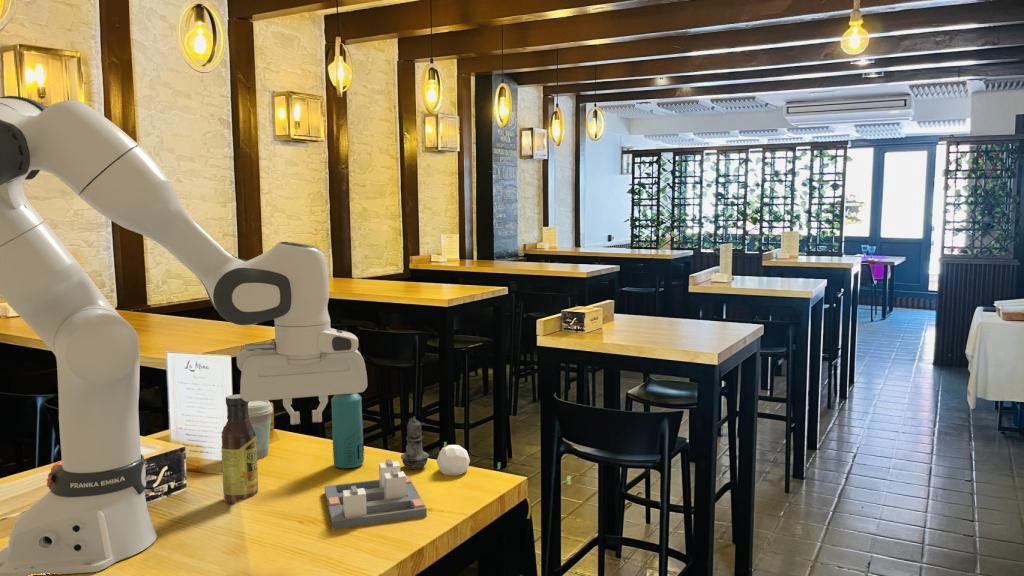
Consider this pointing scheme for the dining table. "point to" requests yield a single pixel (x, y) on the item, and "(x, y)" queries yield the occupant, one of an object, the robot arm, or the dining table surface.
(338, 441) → the beverage bottle
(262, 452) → the coffee cup
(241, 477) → the sauce bottle
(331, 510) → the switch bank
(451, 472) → the ornament
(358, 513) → the tab
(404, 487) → the tab
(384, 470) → the tab
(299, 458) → the dining table surface
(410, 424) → the grey tower figurine
